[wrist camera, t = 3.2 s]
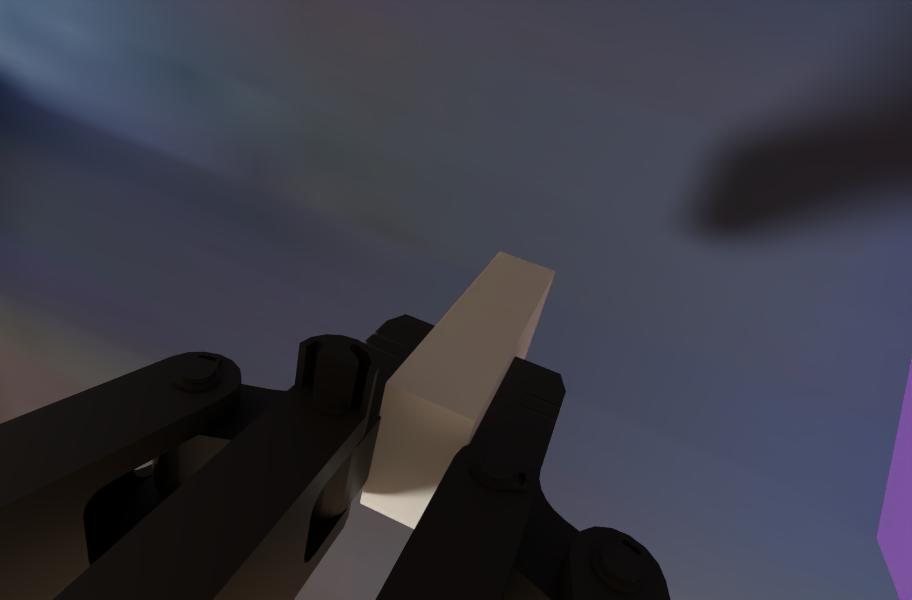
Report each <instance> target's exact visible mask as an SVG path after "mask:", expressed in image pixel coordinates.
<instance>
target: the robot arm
mask: <svg viewBox="0 0 912 600" xmlns="http://www.w3.org/2000/svg"><path fill="white" fill-rule="evenodd" d="M555 272H556V271H553V270H550V269H548V268H545V267H542V266H539V265H537V264H534V263H531V262H528V261H525V260H523V259H520V258H517V257H514V256H512V255H509V254H506V253H503V252H501V251H500V252H499V253H498V254H497V255H496V256H495V257H494V259H493V260H492V261H491V262H490V263H489V264H488V266H487V267H486V268H485V269H484V270H483V271H482V272H481V274H480V275H479V276H478V277H477V278H476V279H475V281H474V282H473V283H472V284H471V285H470V286H469V288H468V289H467V290H466V291H465V292H464V293H463V294H462V296H461V297H460V298H459V299H458V300H457V301H456V303H455V304H454V305H453V306H452V307H451V308H450V309H449V311H448V312H447V313H446V314H445V315H444V316H443V318H442V319H441V320H440V321H439V322H438V323H437V324H436V326H434V325H432V324H429V323H427V322H424V321H422V320H419V319H417V318H414V317H412V316H409V315H407V314H405V315H402V316H399V317H396V318H394V319H391V320H388V321H386V322H385V323H384V324H383V325H382V326H381V327H380V328H379V329H378V330H377V331H376V332H375V334H374V335H373V334H372V335H371V336H370V337H369V338H368V339H367V340H366V341H365V343H362V342H361V341H359V340H357V339H353V338H350V337H346V336H343V335H328V334H326V335H320V336H314V337H311V338H309V339H307V340H305V341H303V342H301V343H300V345H299V354H298V362H297V371H296V379H295V385H293V386H292V387H291V388H290V389H289V390H288V391H281V390H271V389H266V388H260V387H255V386H249V385H244V384H241V372H240V368H239V367H238V366H237V365H236V364H235V363H234V362H233V361H232V360H230V359H228V358H226V357H224V356H222V355H219V354H214V353H208V352H187V353H183V354H180V355H176V356H172V357H169V358H167V359H164V360H161V361H159V362H156V363H154V364H151V365H149V366H146V367H144V368H141V369H139V370H136V371H134V372H131V373H128V374H126V375H123V376H121V377H118V378H116V379H113V380H111V381H108V382H106V383H103V384H101V385H98V386H95V387H93V388H90V389H88V390H85V391H83V392H80V393H78V394H75V395H73V396H70V397H68V398H65V399H62V400H60V401H57V402H55V403H52V404H50V405H47V406H45V407H42V408H40V409H37V410H34V411H32V412H29V413H27V414H24V415H22V416H19V417H17V418H14V419H12V420H9V421H7V422H4V423H1V424H0V600H294V598H295V597H296V595H297V594H298V593H299V591H300V590H301V588H302V587H303V585H304V584H305V582H306V581H307V580H308V578H309V577H310V575H311V574H312V572H313V571H314V569H315V568H316V566H317V565H318V564H319V562H320V561H321V559H322V558H323V556H324V555H325V553H326V552H327V551H328V549H329V548H330V546H331V545H332V543H333V542H334V540H335V539H336V537H337V536H338V535H339V533H340V532H341V530H342V529H343V527H344V525H345V523H346V520H347V518H348V515H349V511H350V506H351V502H352V500H353V499H354V497H355V496H356V495H357V493H358V492H359V490H360V489H361V488H362V486H363V485H364V487H363V492H362V497H361V501H360V503H361V504H363V505H365V506H367V507H369V508H371V509H373V510H376V511H378V512H380V513H382V514H384V515H386V516H388V517H390V518H392V519H394V520H396V521H398V522H400V523H403V524H405V525H407V526H409V527H411V528H413V529H414V531H413V532H412V534H411V536H410V538H409V540H408V542H407V543H406V545H405V547H404V549H403V551H402V552H401V554H400V556H399V558H398V560H397V562H396V563H395V565H394V567H393V569H392V571H391V573H390V574H389V576H388V578H387V580H386V582H385V584H384V585H383V587H382V589H381V591H380V593H379V594H378V596H377V598H376V600H670V596H669V592H668V588H667V584H666V580H665V578H664V575H663V573H662V571H661V568H660V566H659V564H658V562H657V561H656V560H655V559H654V557H653V556H652V555H651V554H650V553H649V551H648V550H647V549H646V548H645V547H644V546H643V545H641V544H640V543H639V542H637V541H636V540H635V539H633V538H632V537H631V536H629V535H627V534H625V533H622V532H620V531H618V530H615V529H613V528H607V527H596V526H594V527H591V528H588V529H585V530H582V531H578V530H577V529H576V528H574V527H573V526H572V525H571V524H569V523H568V522H567V521H565V520H564V519H563V518H562V517H561V516H560V515H559V514H558V513H557V512H556V511H554V509H553V508H552V507H551V505H550V504H549V503H548V501H547V500H546V498H545V496H544V494H543V492H542V490H541V485H540V480H539V477H540V470H541V467H542V464H543V461H544V458H545V454H546V451H547V448H548V445H549V442H550V439H551V436H552V433H553V429H554V426H555V423H556V420H557V417H558V414H559V411H560V407H561V405H562V401H563V398H564V395H565V392H566V390H565V387H564V384H563V381H562V378H561V375H560V374H559V373H556V372H554V371H551V370H549V369H546V368H544V367H541V366H539V365H536V364H534V363H531V362H529V361H526V360H524V359H525V357H526V354H527V351H528V348H529V345H530V342H531V340H532V337H533V334H534V331H535V328H536V325H537V323H538V320H539V317H540V314H541V311H542V308H543V306H544V303H545V300H546V297H547V294H548V292H549V289H550V286H551V283H552V280H553V277H554V275H555ZM151 460H152V464H151V465H149V466H147V467H144V468H141V469H138V470H134V469H136V468H138V467H139V466H141V465H143V464H145V463H147V462H149V461H151Z"/></svg>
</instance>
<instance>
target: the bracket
mask: <svg viewBox="0 0 912 600" xmlns="http://www.w3.org/2000/svg"><path fill="white" fill-rule="evenodd" d="M876 538H877V540H878V543H879V546H880V548H881V551H882V554H883V556H884V559H885V561H886V564H887V567H888V569H889V572H890V574H891V577H892V580H893V582H894V585H895V587H896V590H897V593H898V595H899V598H900V600H912V360H911V365H910V370H909V375H908V381H907V386H906V391H905V396H904V401H903V406H902V411H901V416H900V421H899V426H898V431H897V436H896V441H895V446H894V451H893V456H892V461H891V467H890V472H889V477H888V482H887V487H886V492H885V497H884V502H883V507H882V512H881V517H880V522H879V527H878V532H877V537H876Z"/></svg>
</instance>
